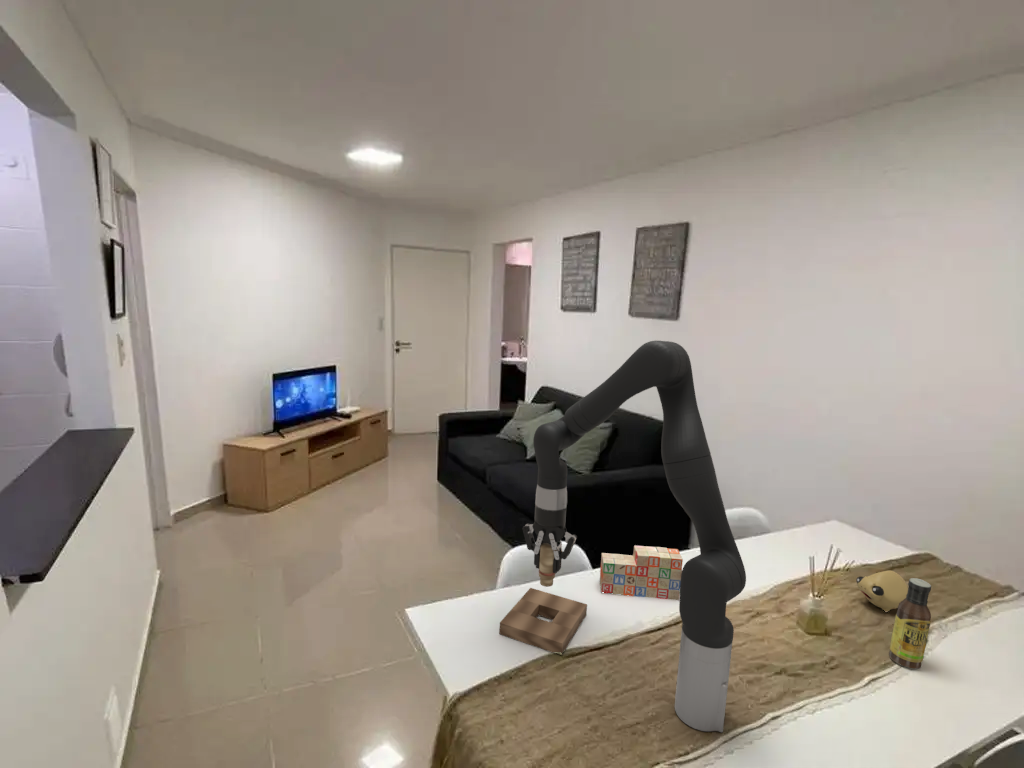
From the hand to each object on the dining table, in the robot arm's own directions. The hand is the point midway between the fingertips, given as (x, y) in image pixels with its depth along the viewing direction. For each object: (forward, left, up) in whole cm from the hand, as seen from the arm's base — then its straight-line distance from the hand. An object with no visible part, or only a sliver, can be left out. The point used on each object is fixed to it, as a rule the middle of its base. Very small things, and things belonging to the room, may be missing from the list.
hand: (547, 569), depth 128 cm
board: (0, 0, -15) cm, 15 cm away
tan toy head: (-78, -53, -15) cm, 95 cm away
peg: (0, 0, -4) cm, 4 cm away
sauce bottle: (-79, -28, -15) cm, 85 cm away
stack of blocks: (-17, -28, -15) cm, 36 cm away
